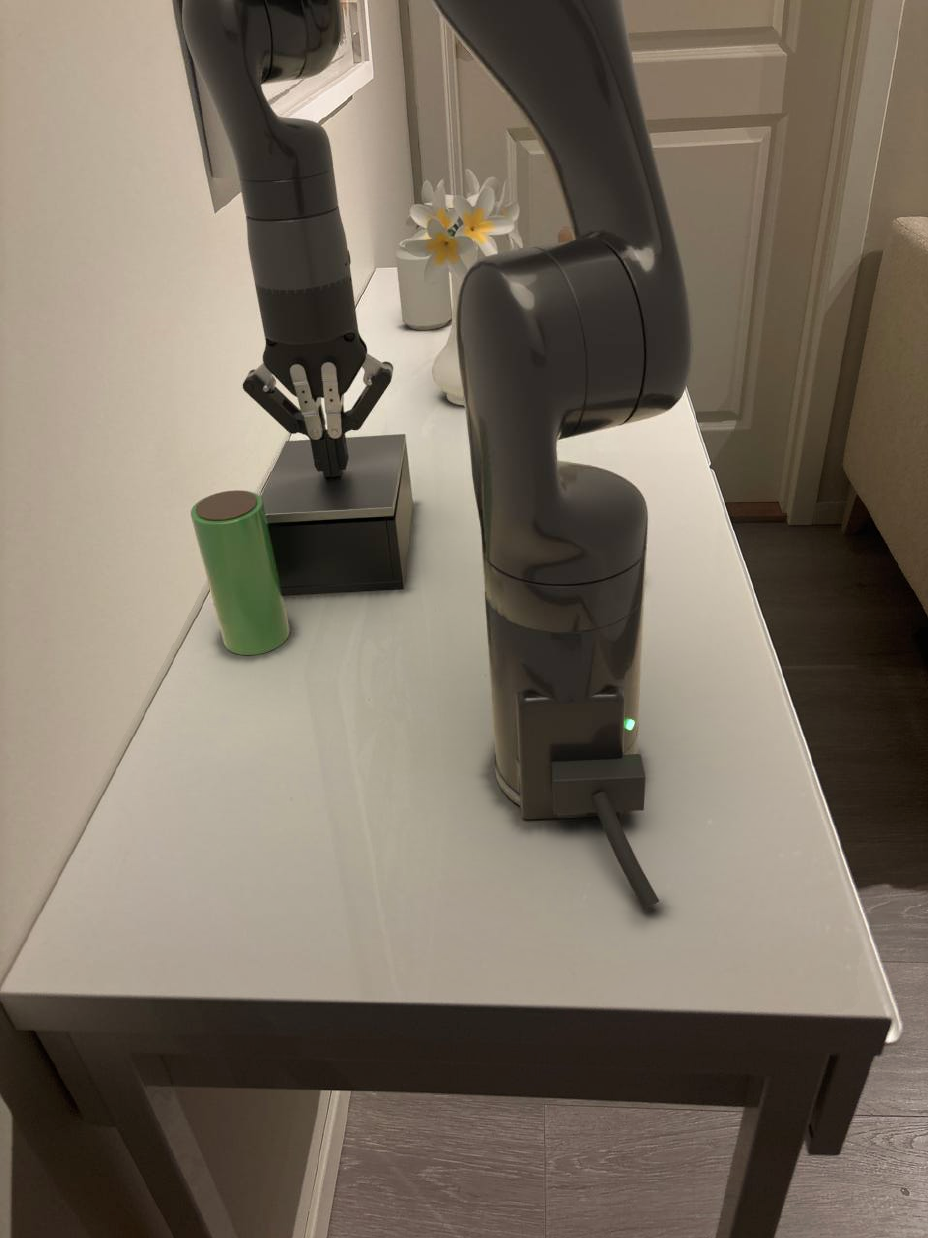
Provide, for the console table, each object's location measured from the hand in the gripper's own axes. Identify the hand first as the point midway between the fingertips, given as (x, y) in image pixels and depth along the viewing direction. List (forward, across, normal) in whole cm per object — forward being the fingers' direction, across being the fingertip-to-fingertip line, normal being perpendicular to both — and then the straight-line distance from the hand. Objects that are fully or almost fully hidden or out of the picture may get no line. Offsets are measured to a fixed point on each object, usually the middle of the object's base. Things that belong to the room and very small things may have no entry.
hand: (333, 473), depth 85 cm
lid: (+1, 0, 0) cm, 1 cm away
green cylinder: (+8, -6, -13) cm, 16 cm away
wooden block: (+4, +28, +84) cm, 89 cm away
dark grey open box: (+8, 0, +1) cm, 8 cm away
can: (+8, +5, +67) cm, 68 cm away
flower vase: (+8, +12, +36) cm, 39 cm away
